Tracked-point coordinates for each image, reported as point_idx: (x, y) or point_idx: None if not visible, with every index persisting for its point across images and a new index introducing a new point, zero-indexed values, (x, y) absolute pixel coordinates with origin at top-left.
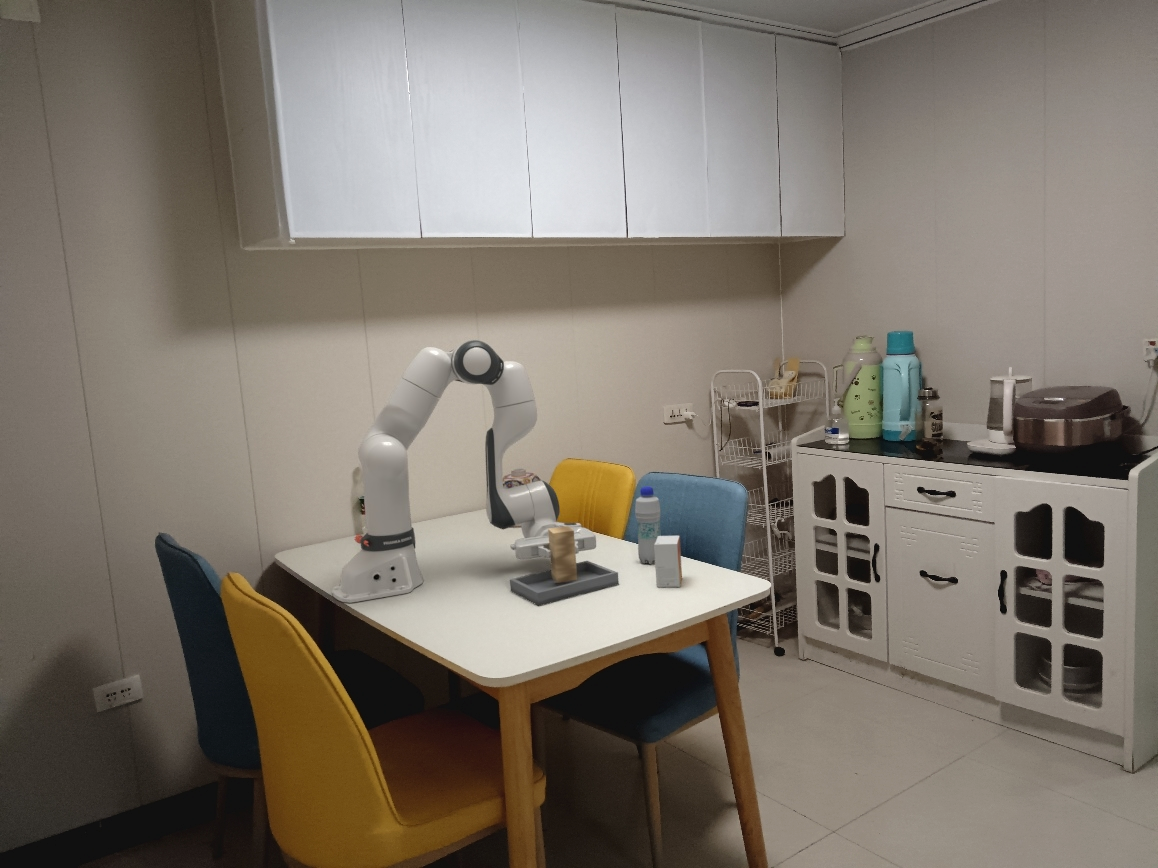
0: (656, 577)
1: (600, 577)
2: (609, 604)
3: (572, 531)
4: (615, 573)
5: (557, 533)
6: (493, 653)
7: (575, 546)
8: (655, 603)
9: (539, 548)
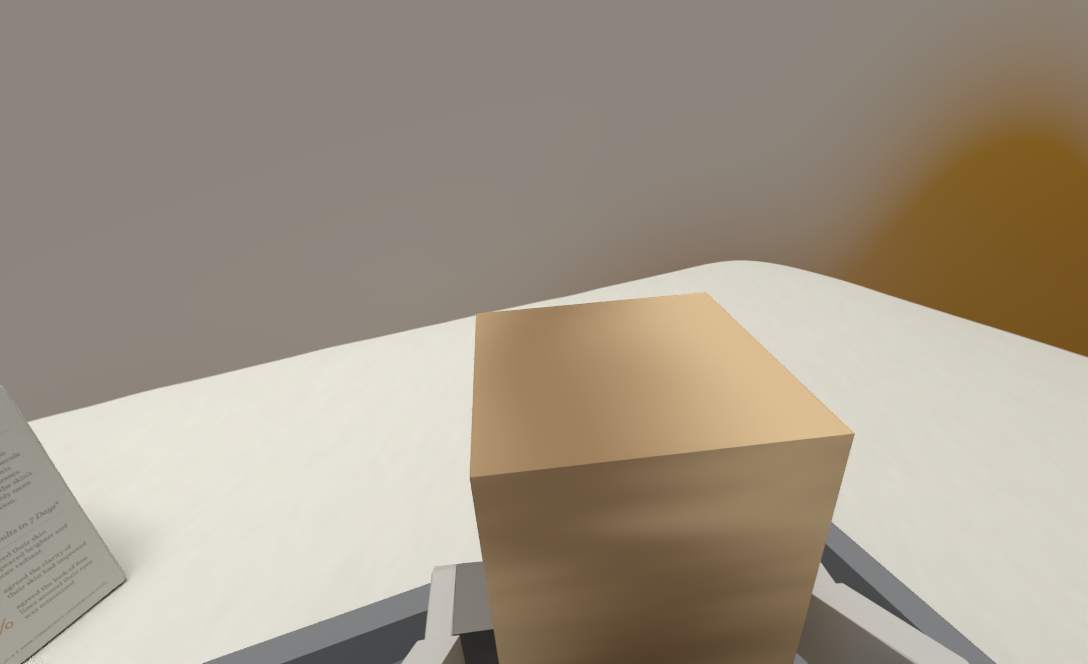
0: (102, 541)
1: (367, 608)
2: (448, 458)
3: (492, 320)
4: (228, 657)
5: (661, 303)
6: (794, 300)
7: (460, 567)
8: (302, 430)
9: (949, 658)
